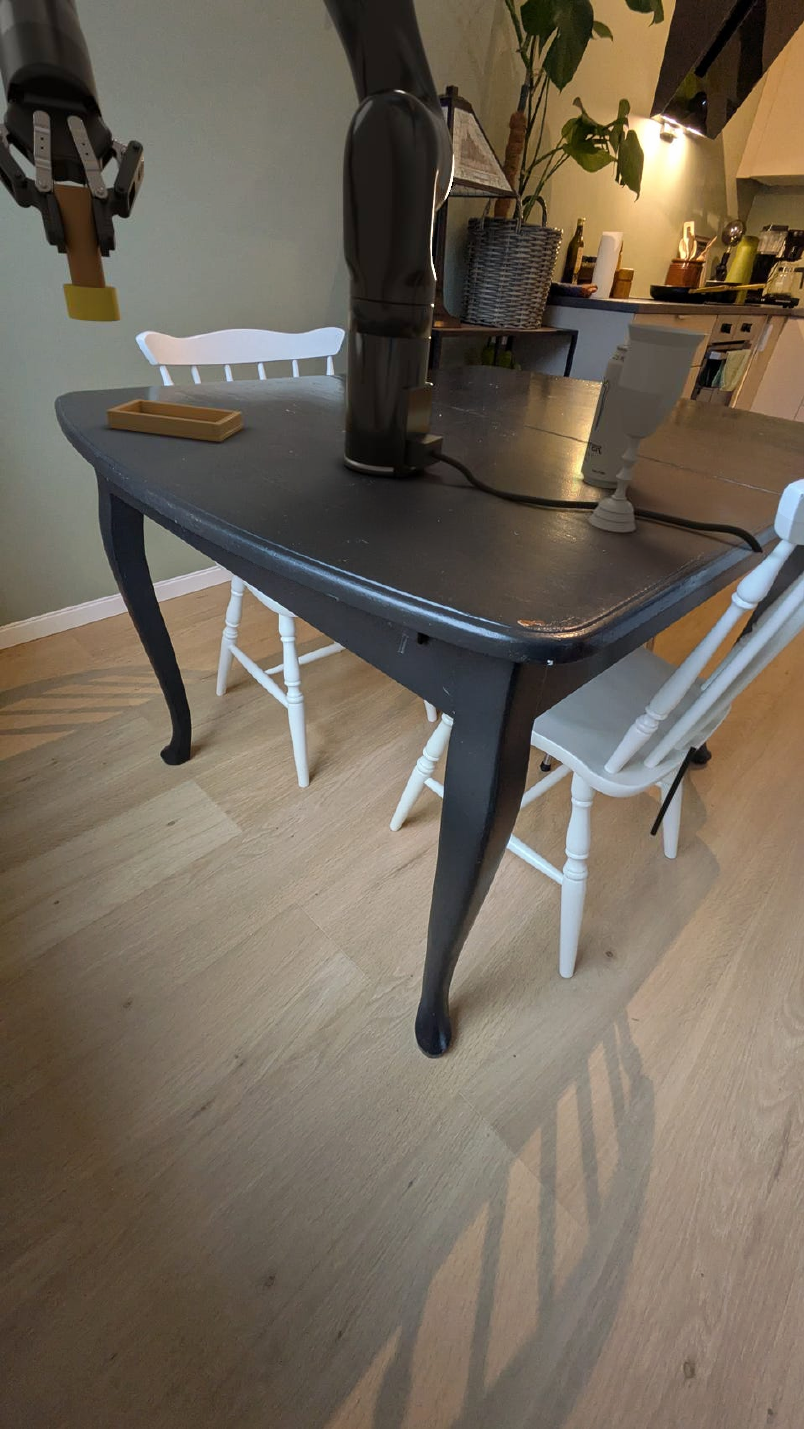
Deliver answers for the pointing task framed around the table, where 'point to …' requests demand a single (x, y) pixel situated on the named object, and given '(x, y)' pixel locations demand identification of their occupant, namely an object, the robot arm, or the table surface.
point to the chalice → (646, 403)
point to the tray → (175, 420)
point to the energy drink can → (607, 430)
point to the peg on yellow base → (84, 258)
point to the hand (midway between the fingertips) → (83, 246)
